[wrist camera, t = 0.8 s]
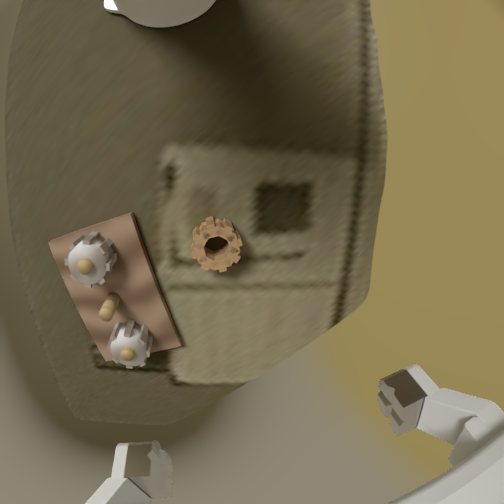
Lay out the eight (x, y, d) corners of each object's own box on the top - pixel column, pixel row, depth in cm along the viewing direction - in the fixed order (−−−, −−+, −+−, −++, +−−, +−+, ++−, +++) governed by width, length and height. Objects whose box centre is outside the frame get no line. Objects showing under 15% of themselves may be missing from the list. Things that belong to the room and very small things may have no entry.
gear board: (52, 239, 39) (33, 254, 33) (132, 211, 40) (121, 223, 34) (107, 356, 47) (99, 380, 41) (181, 340, 48) (180, 366, 42)
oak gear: (186, 223, 42) (184, 231, 38) (232, 210, 42) (235, 217, 38) (199, 266, 44) (199, 278, 40) (243, 254, 44) (247, 265, 41)
